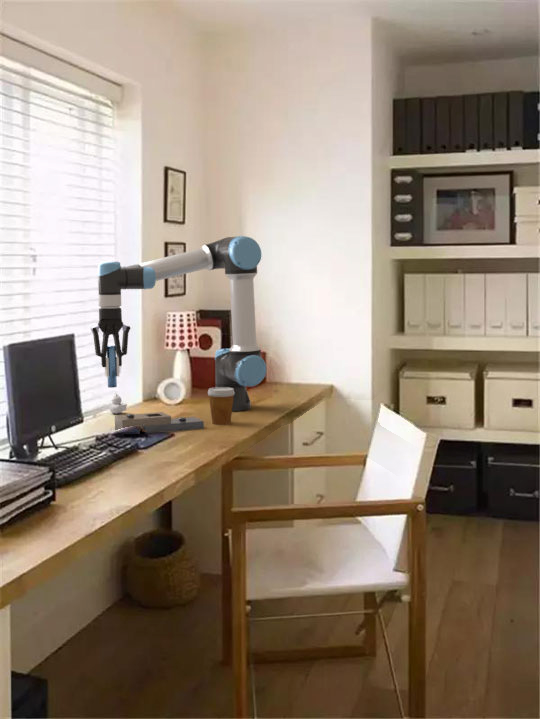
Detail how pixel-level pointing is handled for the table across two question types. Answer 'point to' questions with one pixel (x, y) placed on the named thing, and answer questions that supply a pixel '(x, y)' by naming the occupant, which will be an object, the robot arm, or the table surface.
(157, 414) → the grey fixture block
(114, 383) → the pin
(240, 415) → the table surface
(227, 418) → the disposable coffee cup
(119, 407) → the rubber duck
